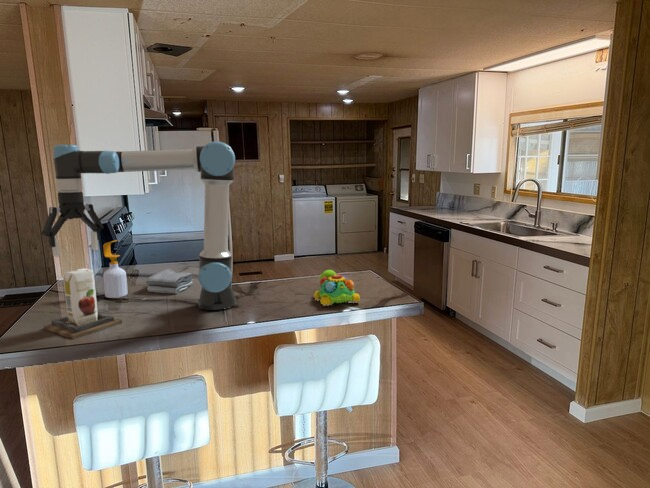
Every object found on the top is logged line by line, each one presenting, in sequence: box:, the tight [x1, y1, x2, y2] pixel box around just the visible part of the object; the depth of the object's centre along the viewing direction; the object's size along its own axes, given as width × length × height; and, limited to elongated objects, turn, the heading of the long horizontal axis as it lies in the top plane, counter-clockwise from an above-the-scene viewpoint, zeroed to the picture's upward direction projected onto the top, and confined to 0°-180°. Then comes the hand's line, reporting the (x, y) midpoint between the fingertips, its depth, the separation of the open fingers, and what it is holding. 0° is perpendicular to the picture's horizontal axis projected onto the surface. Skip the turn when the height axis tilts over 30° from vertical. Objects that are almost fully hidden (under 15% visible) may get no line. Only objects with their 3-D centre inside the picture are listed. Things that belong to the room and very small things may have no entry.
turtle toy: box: [313, 269, 361, 305], centre depth 189 cm, size 17×23×12 cm
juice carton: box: [63, 267, 99, 326], centre depth 159 cm, size 8×9×19 cm
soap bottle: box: [102, 239, 128, 299], centre depth 196 cm, size 9×9×25 cm
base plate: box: [43, 311, 123, 340], centre depth 161 cm, size 18×18×3 cm
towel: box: [146, 268, 195, 295], centre depth 208 cm, size 15×18×8 cm
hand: (76, 252), depth 156 cm, fingers open, 13 cm apart
